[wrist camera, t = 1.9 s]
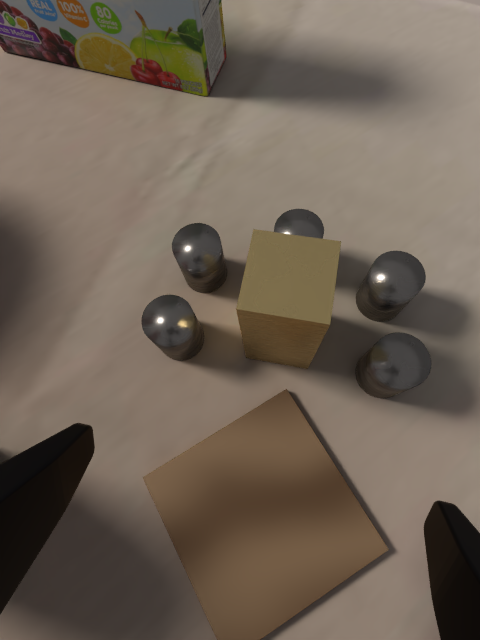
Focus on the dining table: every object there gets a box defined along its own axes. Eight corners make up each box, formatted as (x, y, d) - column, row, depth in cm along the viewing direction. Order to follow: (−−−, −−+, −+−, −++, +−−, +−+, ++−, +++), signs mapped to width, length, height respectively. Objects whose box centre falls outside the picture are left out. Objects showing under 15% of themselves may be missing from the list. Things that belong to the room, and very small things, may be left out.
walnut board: (386, 547, 21) (388, 549, 20) (228, 657, 20) (227, 662, 19) (286, 390, 24) (286, 388, 23) (145, 476, 23) (142, 477, 22)
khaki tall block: (307, 368, 24) (330, 324, 16) (246, 357, 25) (236, 309, 16) (315, 311, 25) (341, 241, 17) (257, 301, 26) (253, 229, 17)
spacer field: (403, 402, 23) (430, 393, 19) (154, 355, 25) (135, 339, 21) (412, 258, 26) (436, 226, 22) (190, 227, 28) (178, 192, 24)
